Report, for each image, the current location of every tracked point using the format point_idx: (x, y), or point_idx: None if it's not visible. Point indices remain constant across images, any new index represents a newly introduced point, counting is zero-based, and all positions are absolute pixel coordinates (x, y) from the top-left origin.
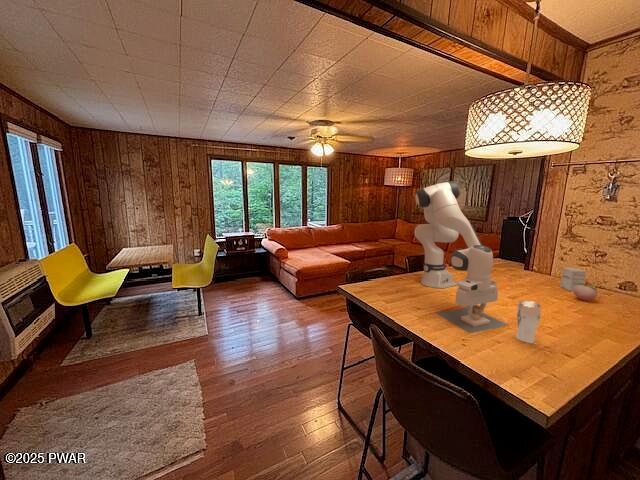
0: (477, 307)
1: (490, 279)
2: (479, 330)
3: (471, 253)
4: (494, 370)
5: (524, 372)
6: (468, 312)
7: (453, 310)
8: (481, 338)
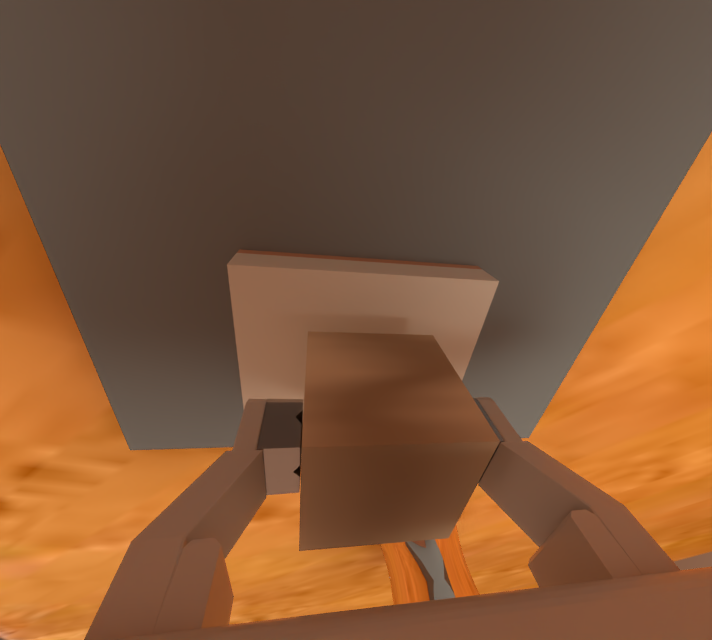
0: (399, 508)
1: None
2: None
3: None
4: (49, 611)
5: None
6: (248, 407)
7: None
8: (191, 481)
